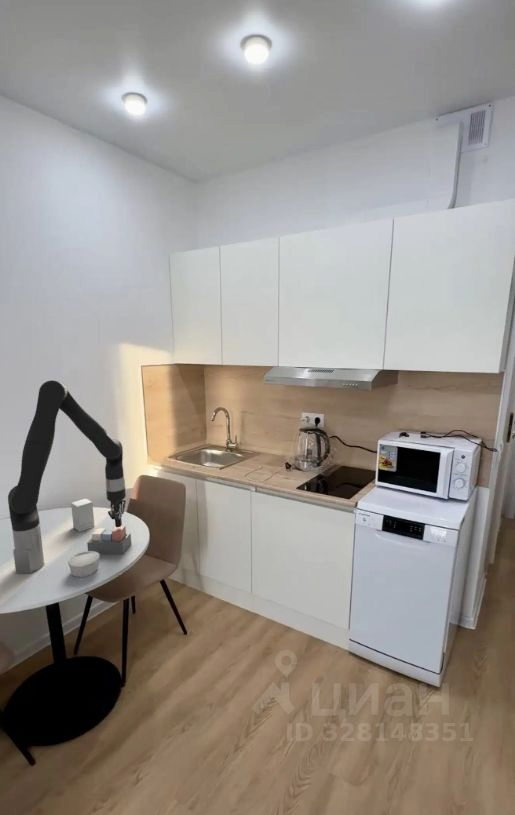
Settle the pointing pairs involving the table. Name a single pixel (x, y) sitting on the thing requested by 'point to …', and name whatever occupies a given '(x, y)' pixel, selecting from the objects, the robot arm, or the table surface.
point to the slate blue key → (107, 535)
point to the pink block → (119, 533)
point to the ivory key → (97, 534)
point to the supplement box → (82, 514)
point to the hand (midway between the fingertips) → (118, 526)
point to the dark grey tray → (110, 546)
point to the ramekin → (84, 563)
